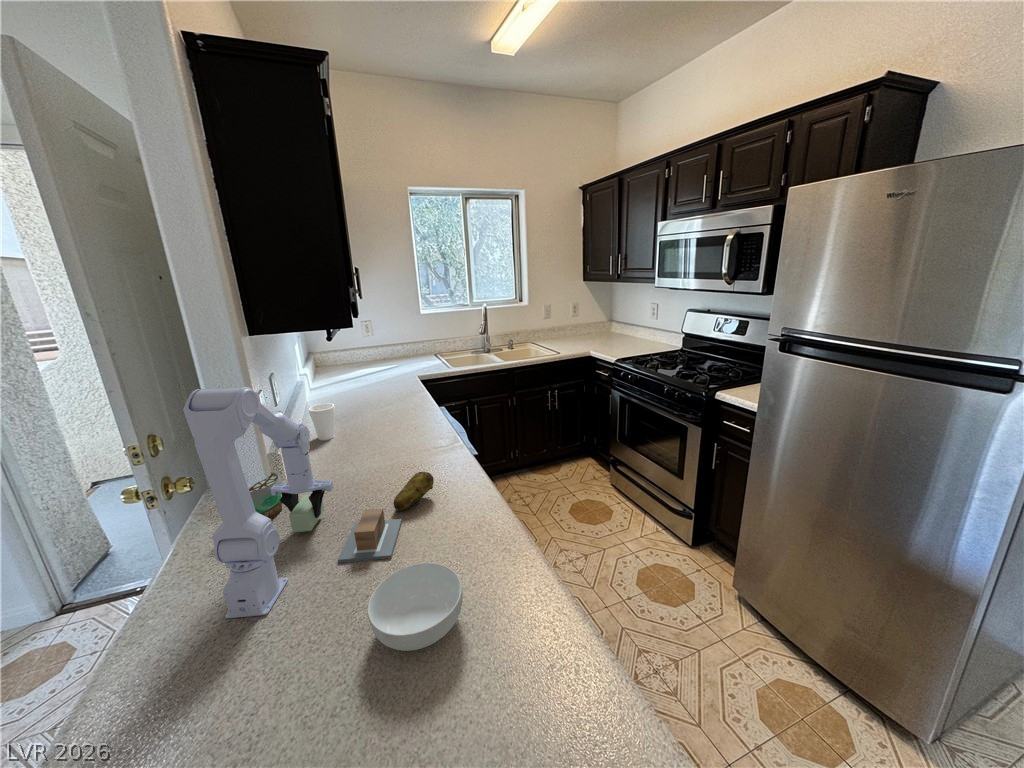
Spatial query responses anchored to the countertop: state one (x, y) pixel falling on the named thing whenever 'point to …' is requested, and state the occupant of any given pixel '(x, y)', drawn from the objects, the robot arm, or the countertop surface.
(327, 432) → the foam cup
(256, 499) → the food container
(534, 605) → the countertop surface
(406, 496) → the potato
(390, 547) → the board
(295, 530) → the green brick
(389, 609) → the cereal bowl
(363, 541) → the walnut brick
